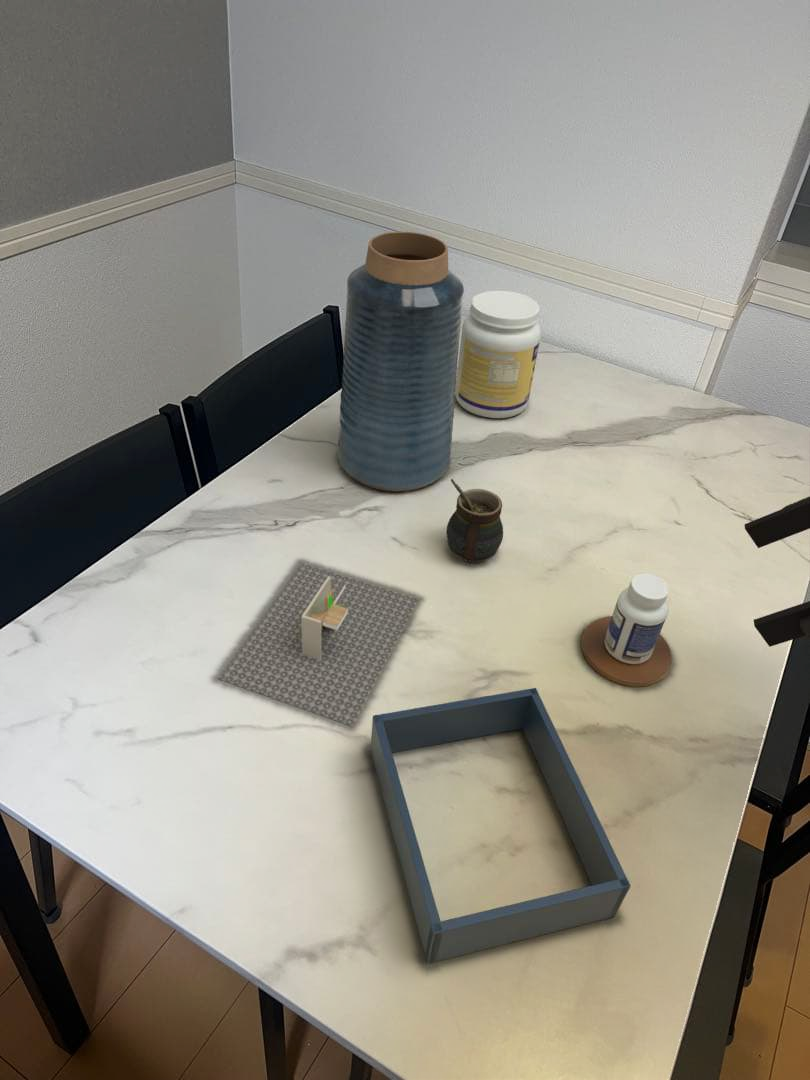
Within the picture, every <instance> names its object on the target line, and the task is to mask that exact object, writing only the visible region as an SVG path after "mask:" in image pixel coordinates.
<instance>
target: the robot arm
mask: <svg viewBox="0 0 810 1080" xmlns="http://www.w3.org/2000/svg"><path fill="white" fill-rule="evenodd" d="M744 530H745V531H746V533H747V534H748V536H749V537H750V538H751V540H752V542H753V543H754V544H755V546H756V547H757V549H761V548H763V547H766V546H768V545H770V544H773V543H776V542H778V541H781V540H784V539H786V538H789V537H791V536H795V535H797V534H799V533H802V532H804V531H807V530H810V495H809V496H807V497H804V498H801V499H800V500H797V501H795V502H793V503H790V504H787V505H785V506H783V507H782V508H781V509H779V510H776V511H774V512H771V513H768V514H766V515H764V516H761V517H759V518H757V519H754V520H752V521H749V522H747V523H744ZM753 626H754V628H755V629H756V631H757V632H758V633H759V635H760V637H762V639H763V640H764V641H765V643H766V644H767V645H768V647H774V646H777V645H780V644H784V643H787V642H790V641H793V640H797V639H799V638H802V637H807V638H810V600H808V601H806V602H803V603H799V604H797V605H793V606H790V607H788V608H784V609H782V610H779V611H775V612H773V613H769V614H767V615H764V616H761V617H757V618H755V619H753Z"/></svg>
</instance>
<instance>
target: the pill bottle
mask: <svg viewBox="0 0 810 1080" xmlns="http://www.w3.org/2000/svg"><path fill="white" fill-rule="evenodd" d="M669 593H670V588H669V586H668V583H666V581H665V579H662V578H661V577H659V576H657V575H655V574H652V573H646V572H645V573H638V574H635V575H634V576H633V577H632V578H631V580H630V582H629V585H628V586H627V587H626V588H625V589H623V590H622V591H621V592H620V593H619V595H618V597H617V599H616V600H617V601H616V603H615V605H614V609H613V612H612V615H611V616H612V618H611V621H610V624H609V626H608V630H607V633H606V637H605V646H606V648H607V650H608V652H609V653H610V654H611V655H612V656H613V657H614V658H616V659H617V660H619V661H621V662H624V663H628V664H640V663H643V662H645V661H646V660H648V659H649V658H650V656H651V654H652V652H653V650H654V647H655V645H656V642H657V640H658V637H659V635H661V632H662V630H663V627H664V624H665V622H666V620H667V618H668V614H669V604H668V602H667V598H668V596H669Z"/></svg>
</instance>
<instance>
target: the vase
mask: <svg viewBox="0 0 810 1080" xmlns="http://www.w3.org/2000/svg"><path fill="white" fill-rule="evenodd" d="M346 280H347V281H346V304H345V305H346V308H345V322H344V324H345V325H344V341H343V342H344V343H343V359H342V362H343V363H342V375H341V376H342V378H341V380H342V381H341V390H340V391H341V392H340V403H339V420H338V421H339V422H338V440H337V459H338V461H339V464H340V466H341V467H342V469H343V470H344V471H345V472H346V474H348V475H349V476H350V477H351V478H353V479H354V480H356V481H357V482H358V483H361V484H362V485H365V486H367V487H370V488H373V489H377V490H381V491H387V492H388V491H389V492H408V491H414V490H419V489H421V488H424V487H427V486H429V485H432V484H433V483H434V482H436V481H437V480H439V479H440V478H441V477H442V476H443V475H444V474H445V473H446V471H447V470H448V468H449V466H450V462H451V453H452V442H453V429H454V428H453V427H454V419H455V418H454V416H455V404H456V401H455V399H456V395H455V387H456V379H457V370H458V361H459V349H460V338H461V337H460V335H461V334H460V332H461V324H462V323H461V322H462V313H463V311H462V308H463V299H464V292H465V288H464V284H463V282H462V281H461V279H460V277H458V276H457V275H456V274H455V273H453V272H452V271H451V270H450V269H449V248H448V245H447V244H446V243H445V242H444V241H443V240H442V239H441V240H440V239H439V238H437V237H435V236H433V235H429V234H426V233H422V232H415V231H389V232H388V231H387V232H383V233H381V234H377V235H375V236H373V237H372V238H371V239H370V240H369V241H368V245H367V251H366V257H365V263H363V264H362V265H360V266H359V267H356V268H355V269H354V270H352V271H351V273H349V275H348V276H347V279H346Z"/></svg>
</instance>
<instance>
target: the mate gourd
mask: <svg viewBox="0 0 810 1080" xmlns="http://www.w3.org/2000/svg"><path fill="white" fill-rule="evenodd" d="M450 482H451V483H452V485H453V486H454V488H455V490H456V491H457V492H458V493H459V495H458V496H457V499H456V506H455V511H454V512H453V514H452V515H451V516H450V518H449V520H448V521H447V522H448V523H447V525H446V533H445V534H446V540H447V545H448V547H449V550H451V552H452V553H453V554H454V555H455V556H457V557H458V558H460V559H462V560H464V561H465V562H467V563H468V562H470V564H471V563H478V562H483V561H486V560H488V559H490V558H492V557H493V556H495V555H496V553H497V552H498V550H499V549H500V546H501V545H502V542H503V539H504V526H503V522H502V520H501V514H502V508H503V501H502V499H501V498H500V497H499V496H498V495H497V494H496V493H493V491H490V490H487V489H483V488H472V489H471V488H470V489H467V490H465V491H463V489H461V487H460V485H459V484H458V483H456V481H455V480H454V479H453V478H451V479H450Z"/></svg>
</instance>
